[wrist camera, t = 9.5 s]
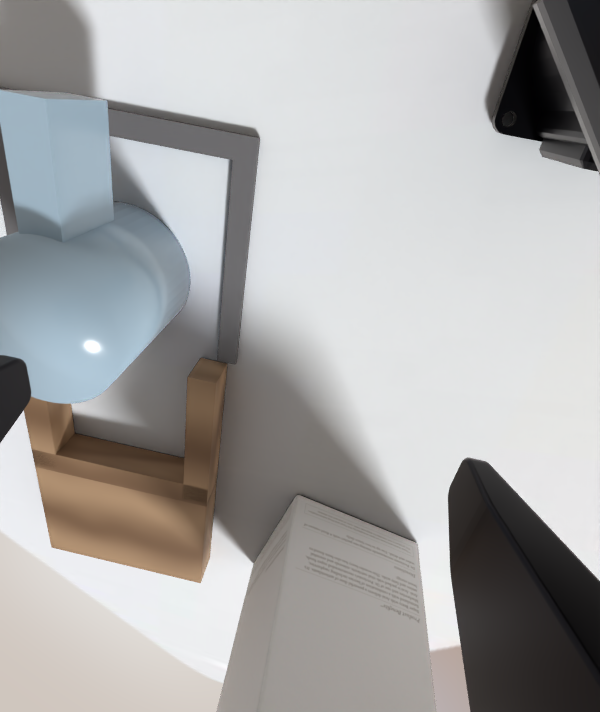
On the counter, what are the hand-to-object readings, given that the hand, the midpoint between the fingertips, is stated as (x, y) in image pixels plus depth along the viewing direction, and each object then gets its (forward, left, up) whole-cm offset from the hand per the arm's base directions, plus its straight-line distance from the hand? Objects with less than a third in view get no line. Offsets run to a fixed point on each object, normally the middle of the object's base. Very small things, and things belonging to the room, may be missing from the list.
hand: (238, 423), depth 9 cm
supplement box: (+21, +5, -13) cm, 25 cm away
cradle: (+16, -9, -13) cm, 22 cm away
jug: (+1, -9, -13) cm, 16 cm away
